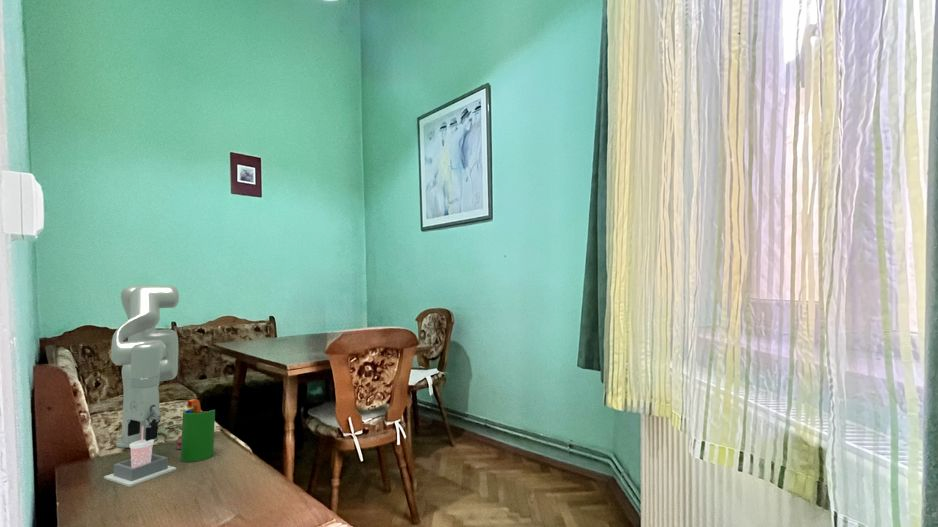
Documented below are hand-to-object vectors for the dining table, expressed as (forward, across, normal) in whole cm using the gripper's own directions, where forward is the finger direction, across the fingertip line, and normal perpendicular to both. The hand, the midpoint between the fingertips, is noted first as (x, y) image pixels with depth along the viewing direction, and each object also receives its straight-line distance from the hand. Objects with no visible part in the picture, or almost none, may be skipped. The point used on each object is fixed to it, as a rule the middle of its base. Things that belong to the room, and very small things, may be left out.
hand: (142, 437), depth 132 cm
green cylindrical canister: (+12, +3, +16) cm, 20 cm away
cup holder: (+11, +1, 0) cm, 11 cm away
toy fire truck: (+12, -11, +24) cm, 29 cm away
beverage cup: (+11, 0, 0) cm, 11 cm away
